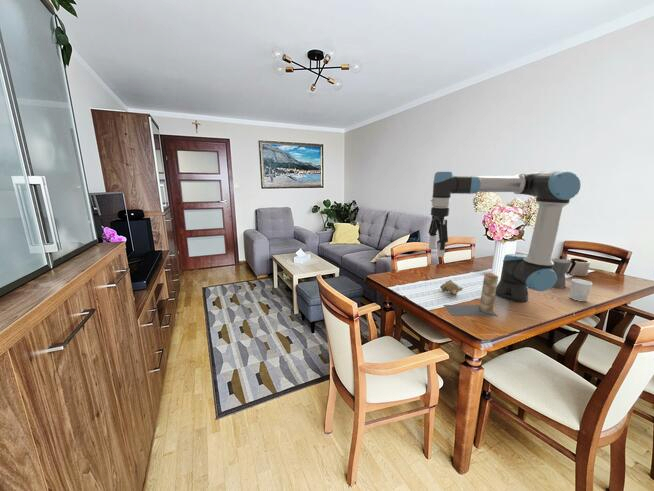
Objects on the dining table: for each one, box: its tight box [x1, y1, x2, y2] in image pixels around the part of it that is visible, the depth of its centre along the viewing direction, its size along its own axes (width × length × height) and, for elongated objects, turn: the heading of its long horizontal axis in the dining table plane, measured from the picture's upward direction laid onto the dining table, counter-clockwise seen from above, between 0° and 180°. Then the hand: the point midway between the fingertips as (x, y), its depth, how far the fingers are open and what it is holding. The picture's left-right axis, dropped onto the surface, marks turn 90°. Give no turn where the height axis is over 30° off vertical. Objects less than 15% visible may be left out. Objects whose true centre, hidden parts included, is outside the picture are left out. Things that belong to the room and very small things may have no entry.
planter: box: [567, 257, 591, 277], centre depth 182 cm, size 11×11×10 cm
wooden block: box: [479, 273, 499, 313], centre depth 129 cm, size 4×4×18 cm
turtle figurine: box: [440, 279, 464, 295], centre depth 149 cm, size 8×7×12 cm
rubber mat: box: [443, 304, 499, 317], centre depth 131 cm, size 21×11×1 cm, turn 89°
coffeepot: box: [551, 255, 576, 288], centre depth 162 cm, size 15×9×18 cm, turn 87°
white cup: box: [568, 278, 593, 301], centre depth 143 cm, size 8×8×10 cm
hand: (435, 252), depth 129 cm, fingers open, 13 cm apart
